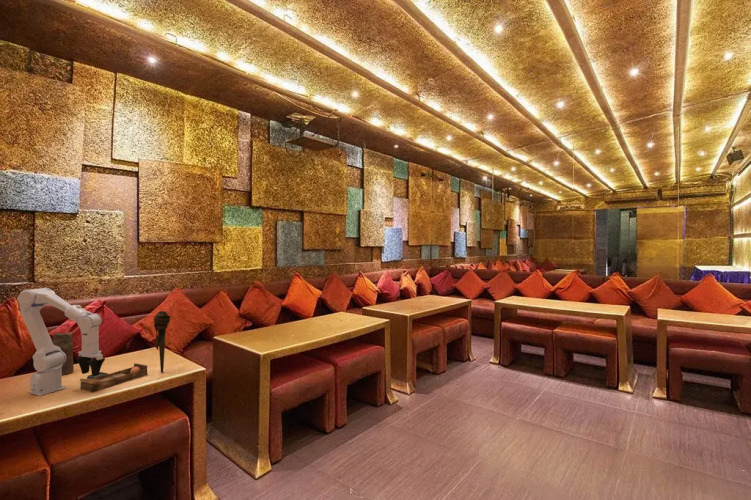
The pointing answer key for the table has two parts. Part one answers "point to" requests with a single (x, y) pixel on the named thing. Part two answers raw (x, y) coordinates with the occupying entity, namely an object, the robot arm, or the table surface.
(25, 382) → the table surface
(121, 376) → the lane
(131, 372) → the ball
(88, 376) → the grey square tray
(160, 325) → the decorative torch
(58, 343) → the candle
